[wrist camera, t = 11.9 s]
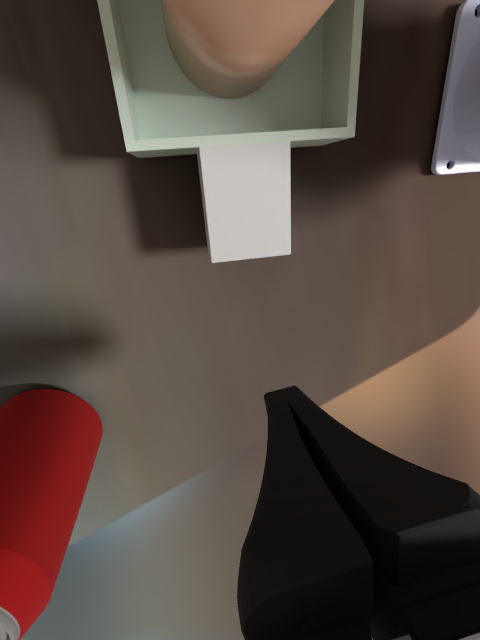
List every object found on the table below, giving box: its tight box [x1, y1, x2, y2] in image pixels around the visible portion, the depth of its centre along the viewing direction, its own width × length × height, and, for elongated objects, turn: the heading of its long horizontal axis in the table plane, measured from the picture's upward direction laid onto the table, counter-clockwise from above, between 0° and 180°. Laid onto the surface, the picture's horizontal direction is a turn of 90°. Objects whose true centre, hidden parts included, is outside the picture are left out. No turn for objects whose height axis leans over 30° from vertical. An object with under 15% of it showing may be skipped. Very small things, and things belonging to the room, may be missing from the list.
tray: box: [97, 0, 364, 263], centre depth 14 cm, size 10×15×4 cm, turn 4°
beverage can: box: [0, 389, 103, 640], centre depth 17 cm, size 7×7×12 cm
